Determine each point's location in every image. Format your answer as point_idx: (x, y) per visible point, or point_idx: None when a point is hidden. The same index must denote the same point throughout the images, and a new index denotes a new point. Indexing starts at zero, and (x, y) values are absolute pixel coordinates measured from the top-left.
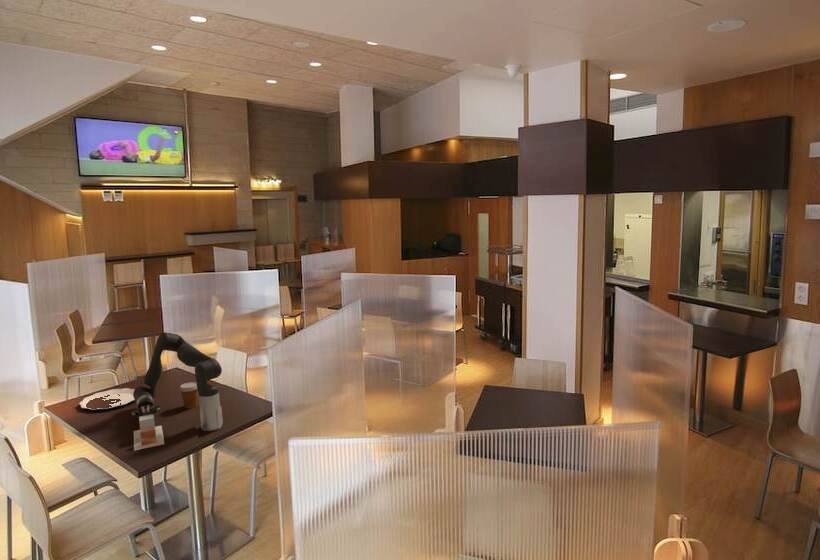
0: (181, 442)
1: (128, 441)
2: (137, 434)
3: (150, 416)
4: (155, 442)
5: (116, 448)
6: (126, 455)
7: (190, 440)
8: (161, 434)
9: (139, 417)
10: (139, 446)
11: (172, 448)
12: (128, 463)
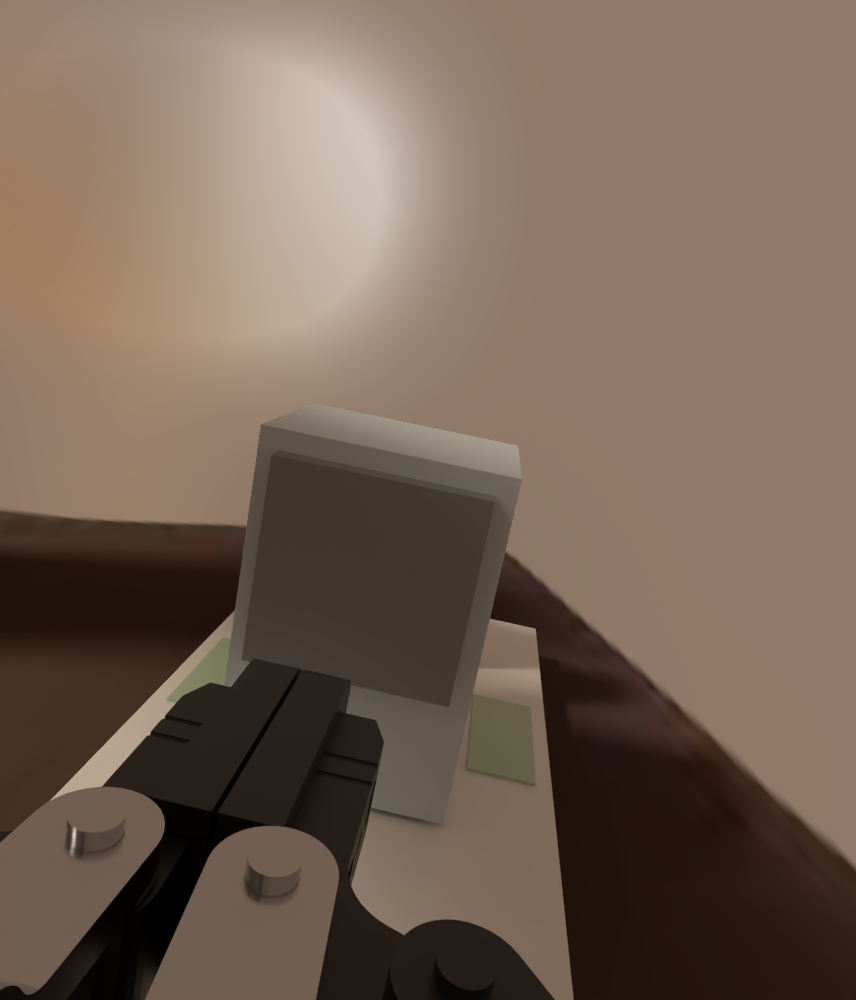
0: (109, 576)
1: (634, 928)
2: (498, 906)
3: (341, 424)
4: None
5: (757, 841)
6: (596, 676)
7: (28, 558)
8: (186, 680)
9: (515, 470)
10: (486, 644)
11: (230, 566)
12: (564, 605)
